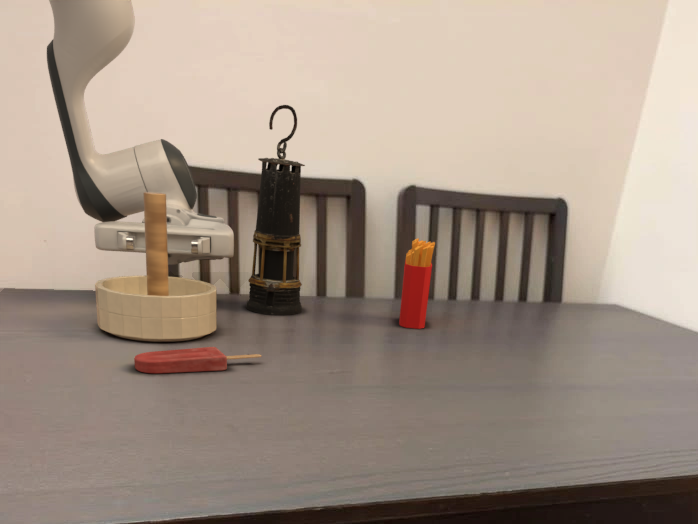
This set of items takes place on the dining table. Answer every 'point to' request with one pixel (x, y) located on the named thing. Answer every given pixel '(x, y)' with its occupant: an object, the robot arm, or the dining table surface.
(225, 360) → the popsicle
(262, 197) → the lantern
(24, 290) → the dining table surface
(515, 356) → the dining table surface
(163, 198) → the stirring stick
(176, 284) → the bowl
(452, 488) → the dining table surface
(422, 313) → the french fries
